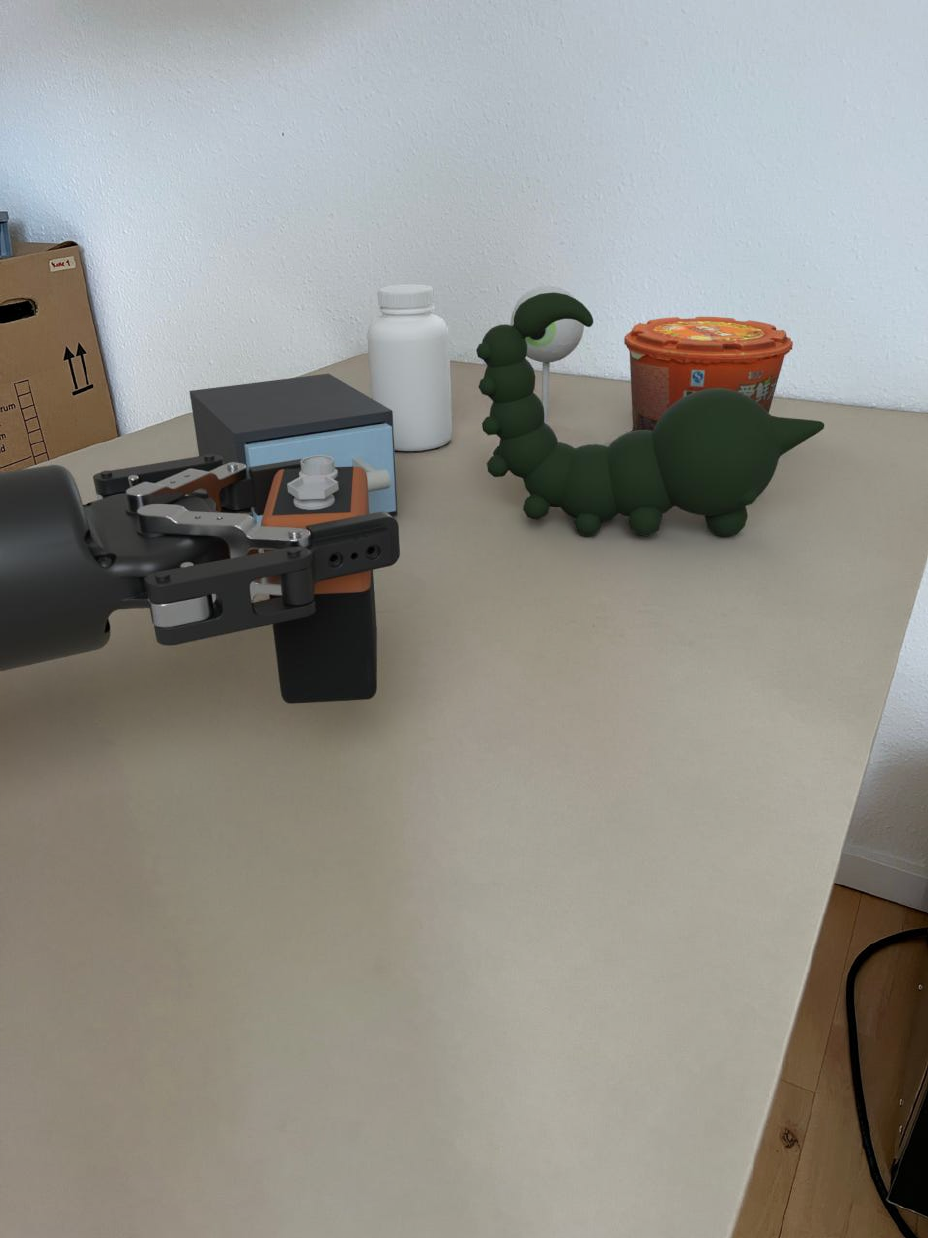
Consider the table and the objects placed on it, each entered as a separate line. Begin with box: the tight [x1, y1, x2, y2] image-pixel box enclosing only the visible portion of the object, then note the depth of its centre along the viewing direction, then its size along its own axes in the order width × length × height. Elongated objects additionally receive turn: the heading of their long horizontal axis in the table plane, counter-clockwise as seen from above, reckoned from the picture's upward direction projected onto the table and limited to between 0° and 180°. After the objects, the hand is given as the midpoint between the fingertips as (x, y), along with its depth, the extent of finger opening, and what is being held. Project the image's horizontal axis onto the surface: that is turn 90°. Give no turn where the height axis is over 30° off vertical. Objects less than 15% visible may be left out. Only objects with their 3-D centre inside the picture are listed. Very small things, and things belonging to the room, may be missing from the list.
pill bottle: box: [366, 283, 453, 452], centre depth 93 cm, size 8×8×15 cm
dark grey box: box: [188, 373, 398, 517], centre depth 79 cm, size 15×13×9 cm
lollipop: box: [510, 284, 585, 426], centre depth 93 cm, size 7×7×15 cm
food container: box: [623, 316, 794, 431], centre depth 94 cm, size 16×16×11 cm
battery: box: [261, 455, 378, 705], centre depth 43 cm, size 4×7×10 cm, turn 5°
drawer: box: [244, 423, 396, 526], centre depth 75 cm, size 19×11×7 cm, turn 27°
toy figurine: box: [475, 292, 825, 538], centre depth 71 cm, size 9×19×25 cm
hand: (359, 505), depth 42 cm, fingers closed on battery, 8 cm apart
